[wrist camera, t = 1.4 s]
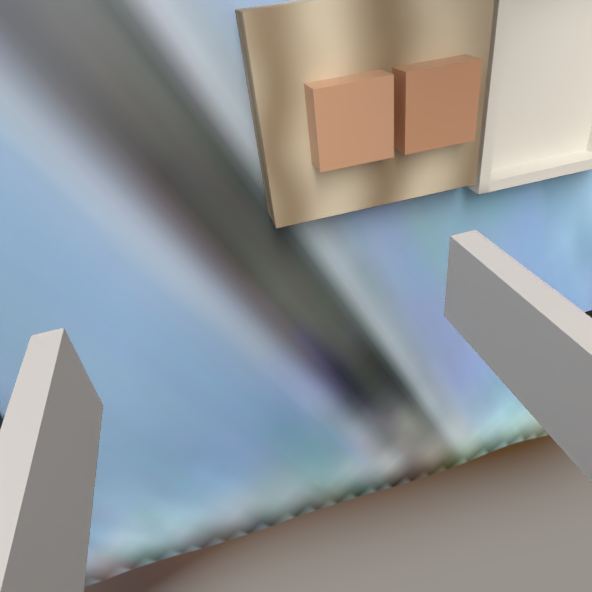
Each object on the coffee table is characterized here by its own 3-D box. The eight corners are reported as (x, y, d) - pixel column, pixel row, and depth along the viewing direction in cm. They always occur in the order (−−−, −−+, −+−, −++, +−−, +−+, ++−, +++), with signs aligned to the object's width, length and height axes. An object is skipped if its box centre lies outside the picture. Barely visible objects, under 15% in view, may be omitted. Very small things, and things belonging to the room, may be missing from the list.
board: (268, 213, 33) (276, 228, 31) (235, 9, 26) (242, 12, 24) (456, 172, 35) (475, 184, 33) (472, -28, 28) (497, -28, 26)
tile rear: (392, 146, 30) (404, 154, 28) (392, 67, 27) (406, 72, 26) (459, 132, 30) (474, 140, 29) (465, 54, 28) (482, 58, 26)
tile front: (311, 163, 29) (320, 172, 27) (303, 83, 26) (312, 89, 25) (381, 148, 30) (393, 157, 28) (380, 69, 27) (393, 74, 26)
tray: (461, 183, 35) (478, 194, 34) (481, -50, 27) (504, -52, 26) (587, 156, 37) (609, 165, 35) (640, -73, 29) (673, -77, 27)
